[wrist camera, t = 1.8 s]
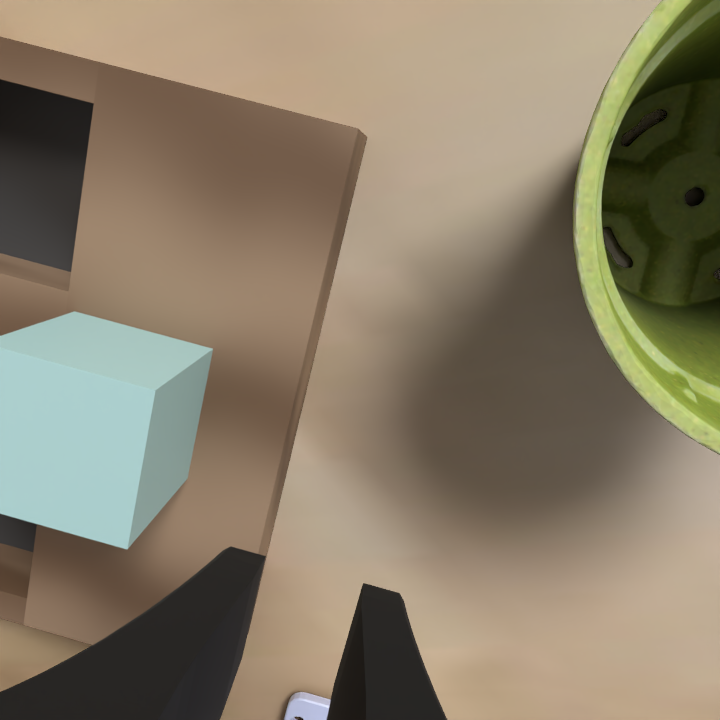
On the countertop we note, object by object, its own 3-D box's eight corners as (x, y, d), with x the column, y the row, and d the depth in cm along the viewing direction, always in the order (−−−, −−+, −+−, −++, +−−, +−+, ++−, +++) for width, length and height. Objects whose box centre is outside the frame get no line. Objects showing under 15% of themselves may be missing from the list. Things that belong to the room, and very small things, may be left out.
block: (187, 478, 19) (126, 549, 15) (56, 441, 19) (-36, 503, 16) (213, 349, 18) (155, 390, 14) (74, 311, 18) (-20, 342, 15)
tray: (248, 633, 23) (206, 733, 19) (-181, 510, 24) (-316, 581, 19) (367, 137, 19) (349, 119, 15) (-161, 1, 19) (-331, -55, 15)
